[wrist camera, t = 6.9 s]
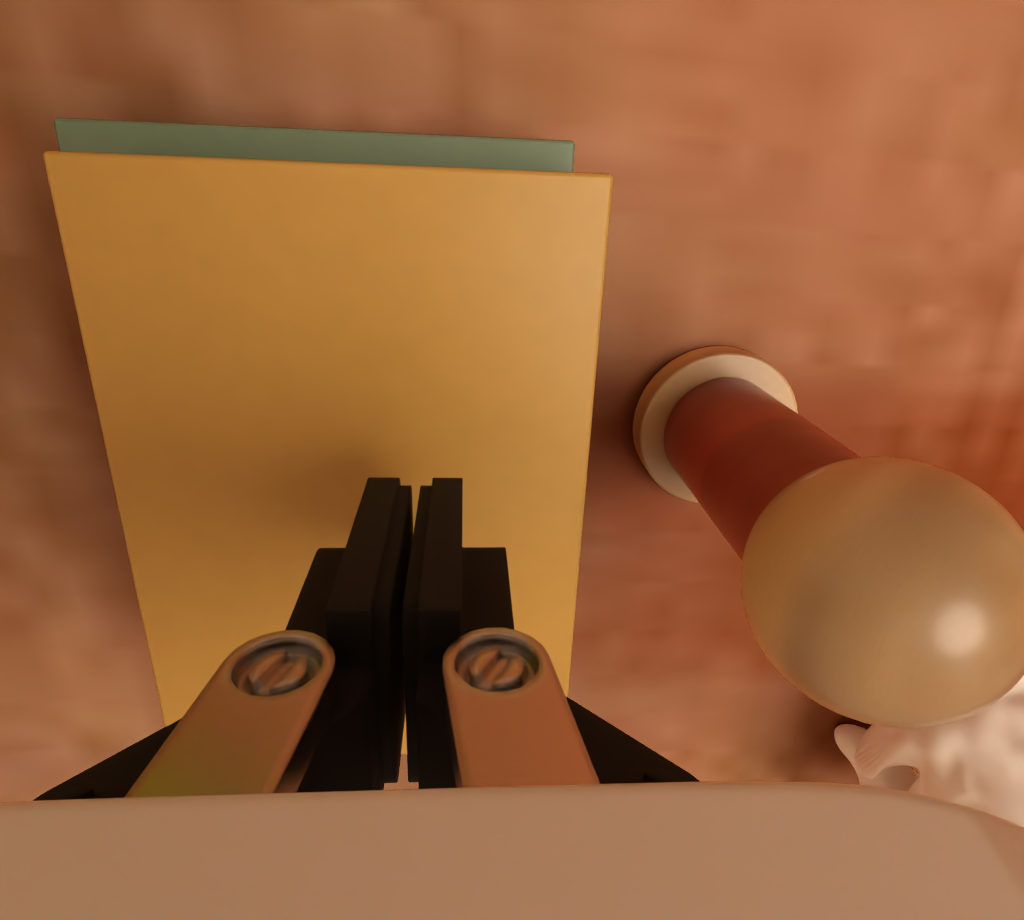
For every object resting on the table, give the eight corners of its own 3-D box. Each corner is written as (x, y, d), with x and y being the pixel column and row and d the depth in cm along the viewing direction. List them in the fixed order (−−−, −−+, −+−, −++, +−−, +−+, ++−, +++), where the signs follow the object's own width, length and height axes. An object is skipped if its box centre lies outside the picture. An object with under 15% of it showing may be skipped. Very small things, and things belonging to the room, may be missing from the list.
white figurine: (966, 1034, 19) (1052, 671, 15) (815, 799, 27) (848, 527, 23) (1176, 1012, 19) (1309, 653, 16) (965, 787, 27) (1020, 516, 24)
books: (569, 148, 17) (617, 131, 12) (539, 622, 23) (563, 760, 18) (120, 128, 16) (-53, 100, 11) (205, 626, 22) (119, 771, 17)
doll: (738, 332, 22) (1224, 451, 13) (715, 467, 23) (1125, 656, 14) (509, 358, 17) (1003, 569, 8) (502, 522, 19) (900, 843, 10)
